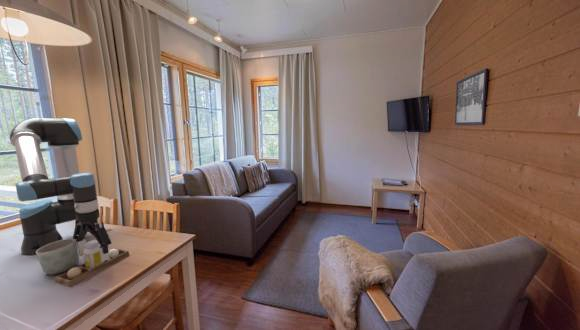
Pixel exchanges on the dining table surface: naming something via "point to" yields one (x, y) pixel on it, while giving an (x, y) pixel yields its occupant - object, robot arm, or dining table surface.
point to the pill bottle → (92, 254)
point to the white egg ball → (113, 253)
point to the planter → (58, 256)
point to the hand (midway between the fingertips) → (94, 257)
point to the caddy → (89, 270)
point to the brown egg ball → (74, 272)
